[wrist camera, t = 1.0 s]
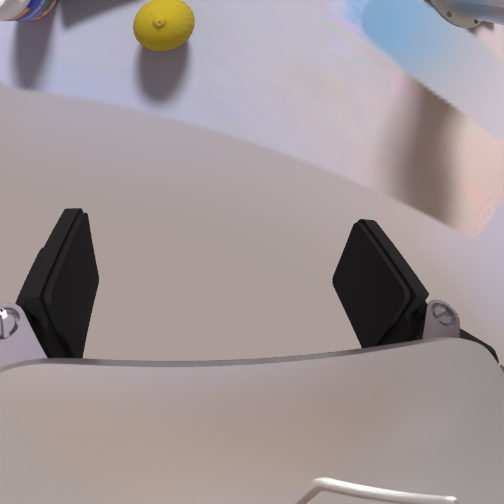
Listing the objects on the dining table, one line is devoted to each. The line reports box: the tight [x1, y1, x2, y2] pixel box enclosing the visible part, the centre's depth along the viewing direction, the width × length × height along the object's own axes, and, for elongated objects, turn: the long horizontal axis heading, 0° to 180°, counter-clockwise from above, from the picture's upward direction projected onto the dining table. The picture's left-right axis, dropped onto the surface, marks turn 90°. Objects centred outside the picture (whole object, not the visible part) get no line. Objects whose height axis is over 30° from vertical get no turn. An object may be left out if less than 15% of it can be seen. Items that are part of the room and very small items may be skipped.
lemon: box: [133, 0, 195, 52], centre depth 22 cm, size 6×6×8 cm
